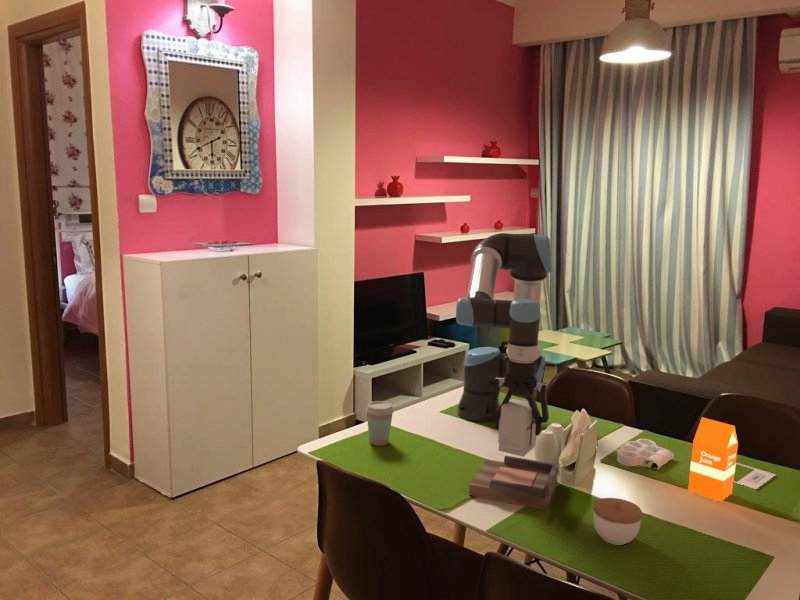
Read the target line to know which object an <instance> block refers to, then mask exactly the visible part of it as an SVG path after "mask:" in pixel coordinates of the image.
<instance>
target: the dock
mask: <svg viewBox="0 0 800 600" xmlns="http://www.w3.org/2000/svg"><path fill="white" fill-rule="evenodd" d="M503 459H504V461H498V460H493V459H486V458H485V460H484V461H483V463H482V465H480V468H479V469H478V470H477V472H476V474H475V475H474V477H473V478H472V480H471V482H470V483H469V484H468V485H469V486H468V487H469V489H468V496H470V495H472V496H471V497H476V498H482V499H487V500H491V501H496V502H502V503H508V504H511V505H517V506H522V507H529V508H532V509H533V508H534V509H538V510H543V509H546V510H545V511H547V510H548V507H549V505H550V501H551V499H552V497H553V494H552V493H554V491H555V489H556V485H557V483H558V472H559V471H558V470H559V464H558V463H554V462H551V463H550V462H546V461H541V460H540V461H539V460H535V459H529V458H524V457H517V456H511V455H504V458H503ZM551 496H552V497H551ZM548 504H549V505H548Z"/></svg>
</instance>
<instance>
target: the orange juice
mask: <svg viewBox="0 0 800 600" xmlns="http://www.w3.org/2000/svg"><path fill="white" fill-rule="evenodd" d="M699 421H700V422H699V424H698V427H697V429H696V432H695V435H694V439H693V440H692V441H693V442H692V450H691V460H690V468H689V479H688V487H687V489H688V490H687V492H688V491H691V492H694V493H697V494H700V495H703V496H706V497H709V498H712V499H715V500H718V501H720V502H719V503H722V502H723V501H724V499H725V498H726V497H727V498H728V496H729V495H730V494H731V495H732V494H733V487H734V484H733V481H735V480H734V478H735V473H736V466H737V465H736V463H737V455H738V448H739V442H738V437H737V433H736V426H735V425H732V424H728V423H726V422H721V421H717V420H714V419H709V418H707V417H701V418H700V420H699ZM691 492H690V493H691ZM694 493H693V494H694ZM697 494H696V495H697ZM700 495H699V496H700ZM731 495H730V496H731ZM703 496H702V497H703ZM730 496H729V497H730ZM706 497H705V498H706ZM709 498H708V499H709ZM727 498H726V499H727ZM712 499H711V500H712ZM726 499H725V500H726ZM715 500H714V501H715ZM722 500H723V501H722ZM718 501H717V502H718ZM721 501H722V502H721Z"/></svg>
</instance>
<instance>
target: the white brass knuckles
mask: <svg viewBox="0 0 800 600" xmlns="http://www.w3.org/2000/svg"><path fill="white" fill-rule="evenodd" d="M614 452H616V453H617V456H616V457H617V458H616V462H617V461H618V462H619V463H621V464H624V465H628V466H635V465H644V466H646V465H647V464H648V463H649V462H650V461H652V462H654V463H655V464H656V465H657V466H658V468H657V470H660V468H661V467H663V466H664V465H666V464H667V463H669V461H671V460H673V459H674V456H675V454H674V453H673V452H672V451H671V450H670V449H667V448H665V447H661V446H658V445H657V443H656V442H655V441H653V440H652V439H648V438H637V440H630V441H629V440H628V441H625V443H624V444H621V445H620V447H619V449H618V448H617V449H615V450H614ZM618 462H617V463H618ZM619 463H618V464H619ZM621 464H620V465H621ZM628 466H627V467H628Z"/></svg>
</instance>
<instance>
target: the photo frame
mask: <svg viewBox="0 0 800 600" xmlns="http://www.w3.org/2000/svg"><path fill="white" fill-rule="evenodd" d="M738 465H740V466H739V467H742V466H743V467H742V468H745V467H747V468H746V469H748V468H750V469H749V470H751V469H753V470H752V471H750V472H749V473H748V474H746V475H745V476H744V477H742V478H741V479H739V480H738V481H735V480H734V481H733V482H734V483H737V484H740V485H744V486H747V487H750V488H753V489H758V488H759V487H760V486H762V485H763V484H764V483H766V482H767V481H769V480H770V479H771V478H773V477H774V476H775V477H776V475H777V473H776V474H775V473H772V472H769V471H765V470H762V469H759V468H755V467H754V466H753V467H752V466H750V465H746V464H743V463H739V462H736V466H738ZM775 477H774V478H775ZM774 478H773V479H774ZM771 480H772V479H771ZM771 480H770V481H771ZM770 481H769V482H770ZM767 483H768V482H767ZM767 483H766V484H767ZM763 486H764V485H763ZM763 486H762V487H763ZM759 489H760V488H759ZM759 489H758V490H759Z"/></svg>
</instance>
